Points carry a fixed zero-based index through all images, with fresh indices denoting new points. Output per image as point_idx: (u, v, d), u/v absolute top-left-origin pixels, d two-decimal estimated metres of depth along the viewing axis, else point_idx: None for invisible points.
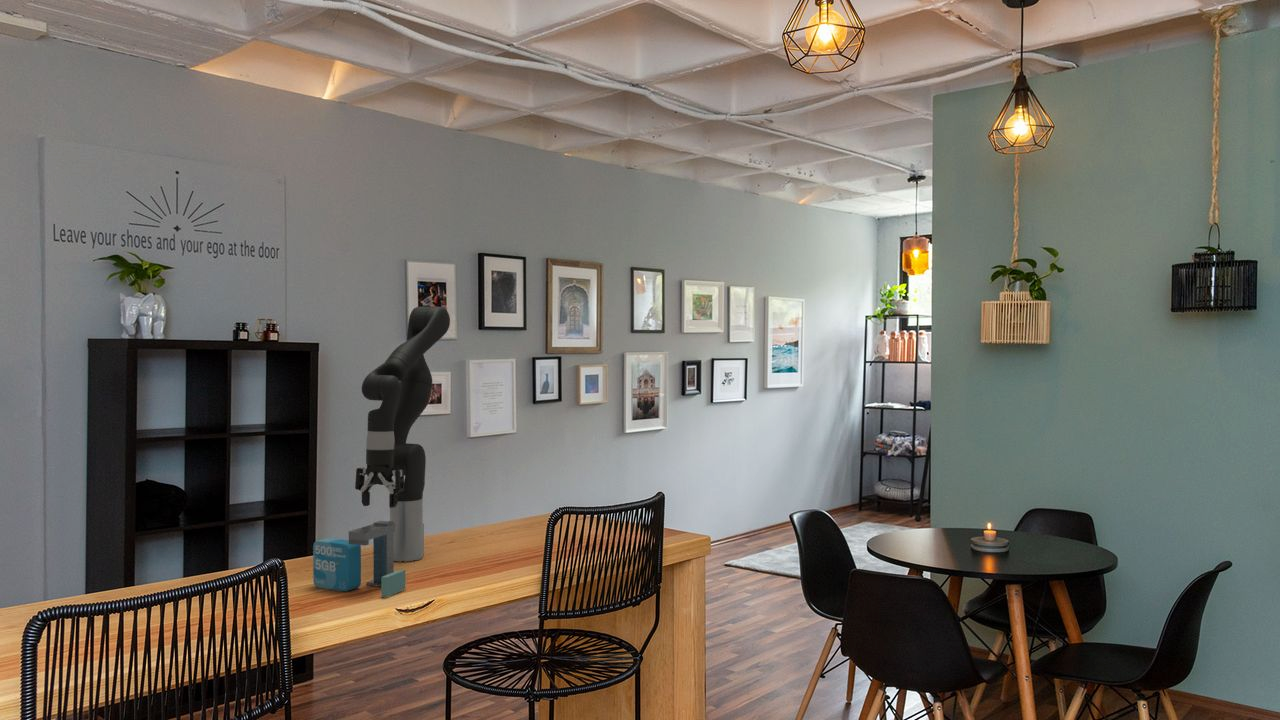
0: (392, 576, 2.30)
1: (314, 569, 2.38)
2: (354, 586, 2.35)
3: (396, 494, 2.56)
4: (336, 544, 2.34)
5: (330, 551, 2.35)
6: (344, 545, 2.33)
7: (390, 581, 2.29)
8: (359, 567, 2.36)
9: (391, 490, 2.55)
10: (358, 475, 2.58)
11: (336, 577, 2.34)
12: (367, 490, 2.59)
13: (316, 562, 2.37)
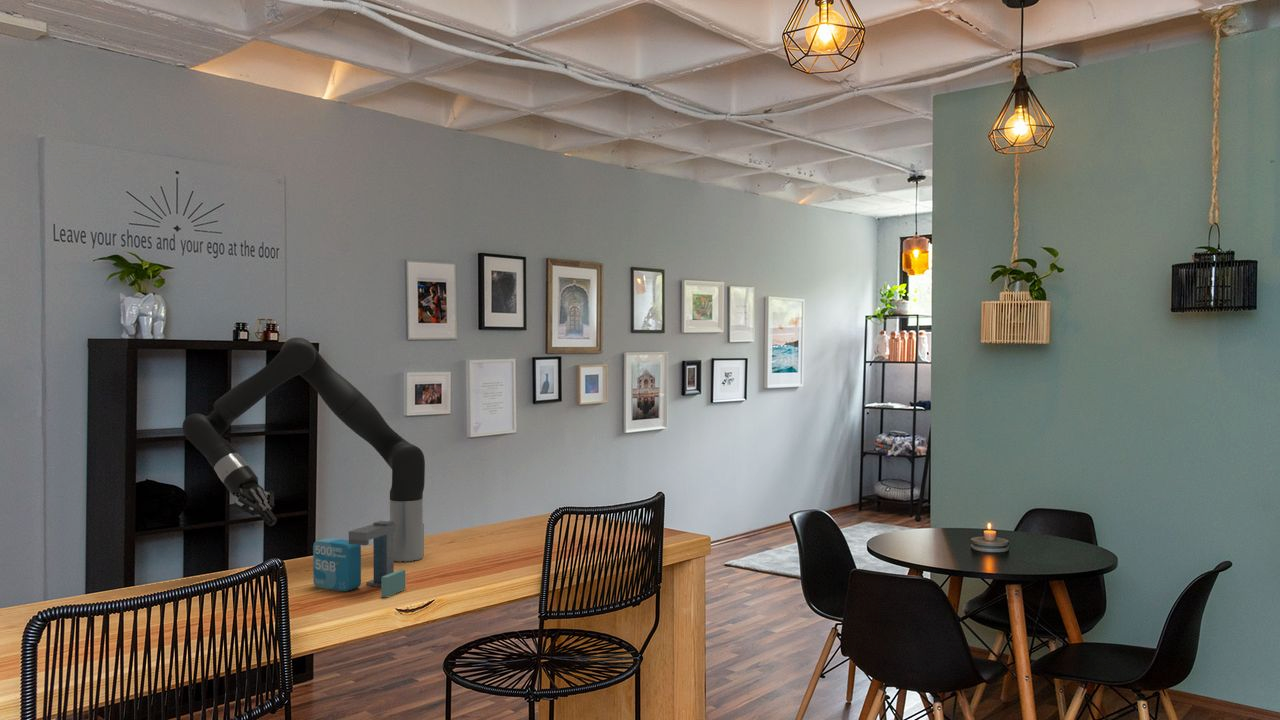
0: (392, 576, 2.30)
1: (314, 569, 2.38)
2: (354, 586, 2.35)
3: (261, 514, 2.43)
4: (336, 544, 2.34)
5: (330, 551, 2.35)
6: (344, 545, 2.33)
7: (390, 581, 2.29)
8: (359, 567, 2.36)
9: None
10: None
11: (336, 577, 2.34)
12: None
13: (316, 562, 2.37)
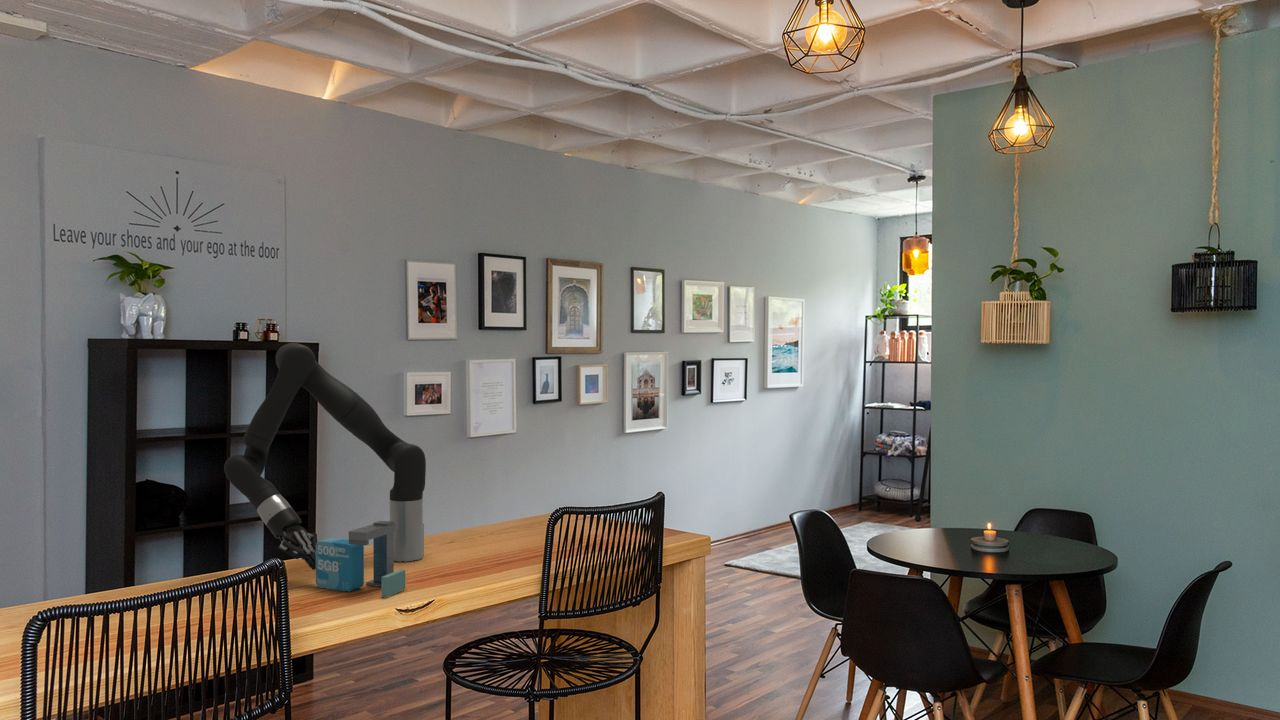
0: (392, 576, 2.30)
1: (316, 569, 2.37)
2: (357, 586, 2.34)
3: (305, 557, 2.38)
4: (339, 544, 2.34)
5: (332, 551, 2.35)
6: (347, 545, 2.33)
7: (390, 581, 2.29)
8: (362, 567, 2.36)
9: None
10: None
11: (339, 577, 2.34)
12: None
13: (318, 562, 2.37)
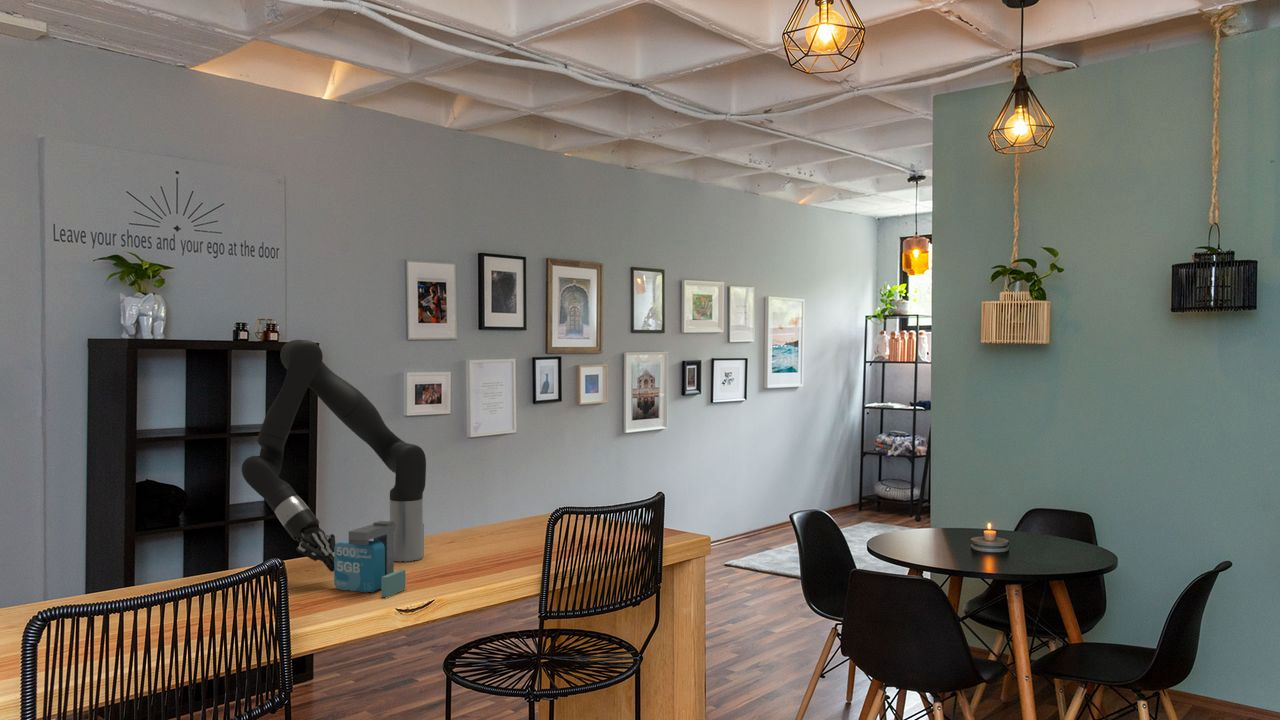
0: (392, 576, 2.30)
1: (335, 571, 2.35)
2: (379, 587, 2.34)
3: (324, 559, 2.37)
4: (360, 545, 2.33)
5: (353, 553, 2.33)
6: (369, 546, 2.32)
7: (390, 581, 2.29)
8: (383, 568, 2.35)
9: None
10: None
11: (361, 578, 2.33)
12: None
13: (338, 564, 2.35)
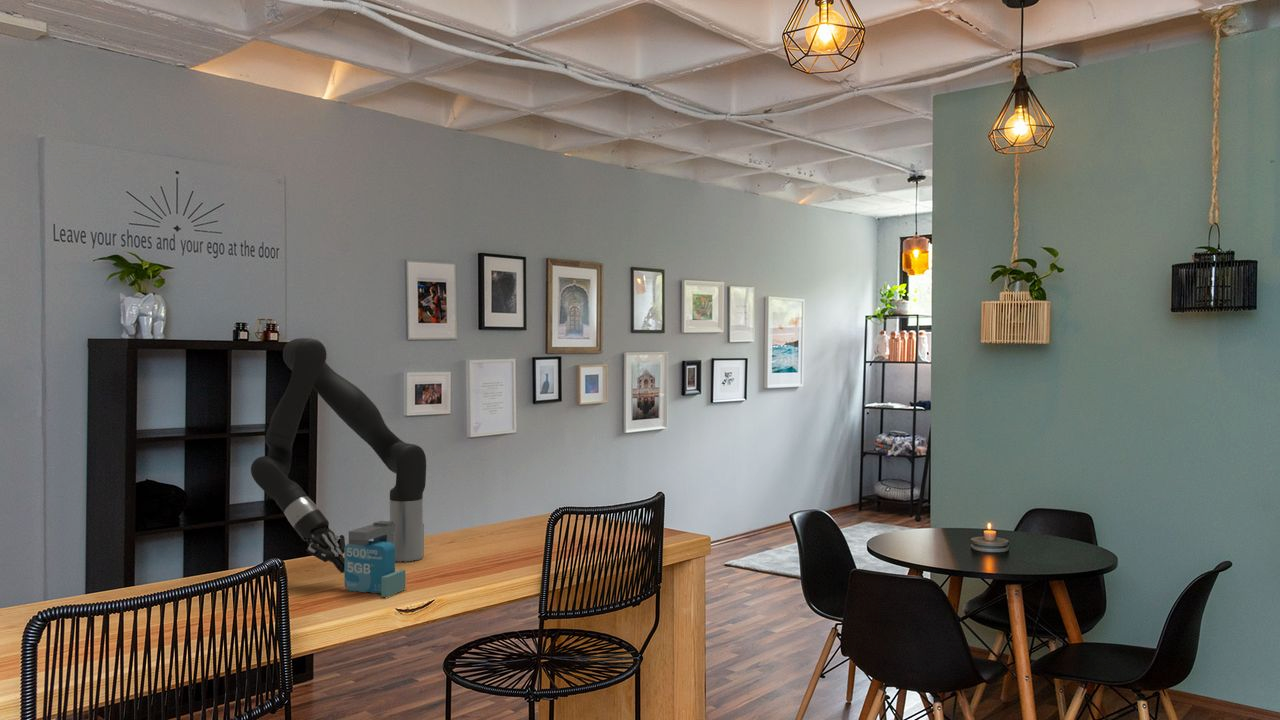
0: (392, 576, 2.30)
1: (345, 572, 2.34)
2: None
3: (334, 560, 2.36)
4: (371, 546, 2.32)
5: (364, 554, 2.32)
6: (380, 547, 2.31)
7: (390, 581, 2.29)
8: (394, 569, 2.34)
9: None
10: None
11: (371, 579, 2.32)
12: None
13: (348, 565, 2.34)
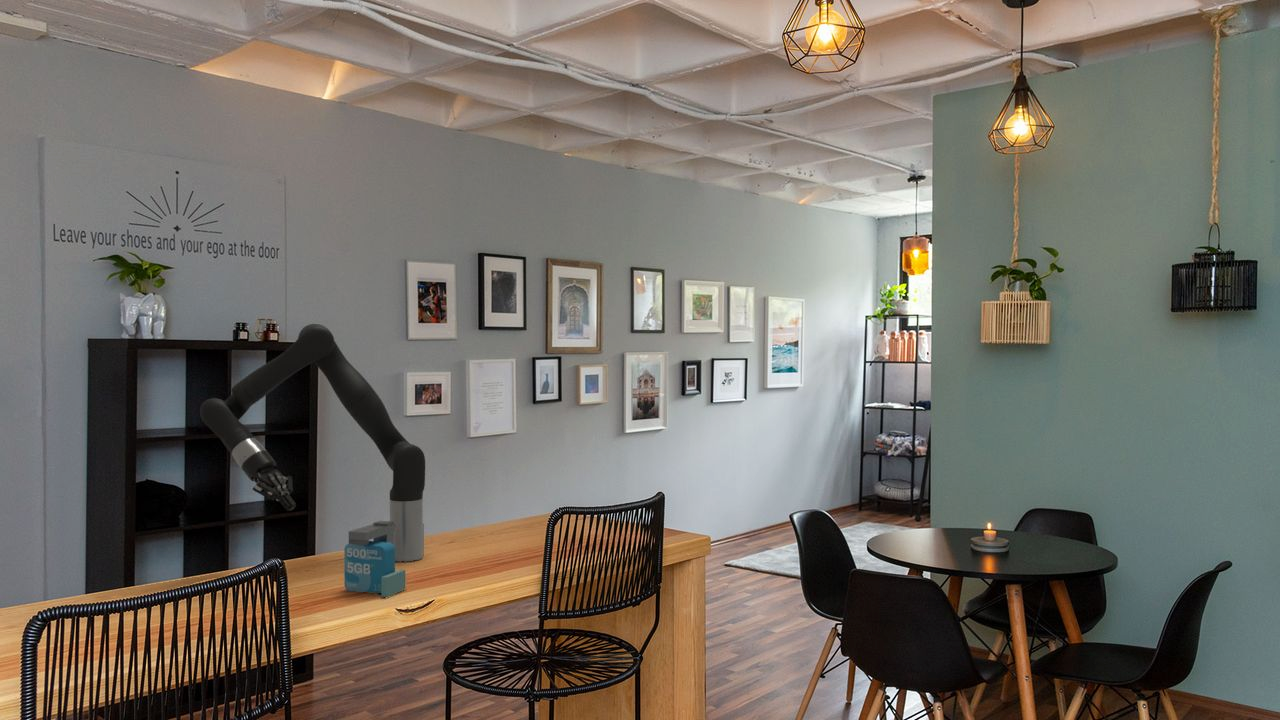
0: (392, 576, 2.30)
1: (345, 573, 2.34)
2: None
3: (280, 498, 2.41)
4: (371, 546, 2.32)
5: (364, 554, 2.32)
6: (380, 547, 2.31)
7: (390, 581, 2.29)
8: (394, 569, 2.34)
9: None
10: None
11: (371, 580, 2.32)
12: None
13: (348, 565, 2.34)
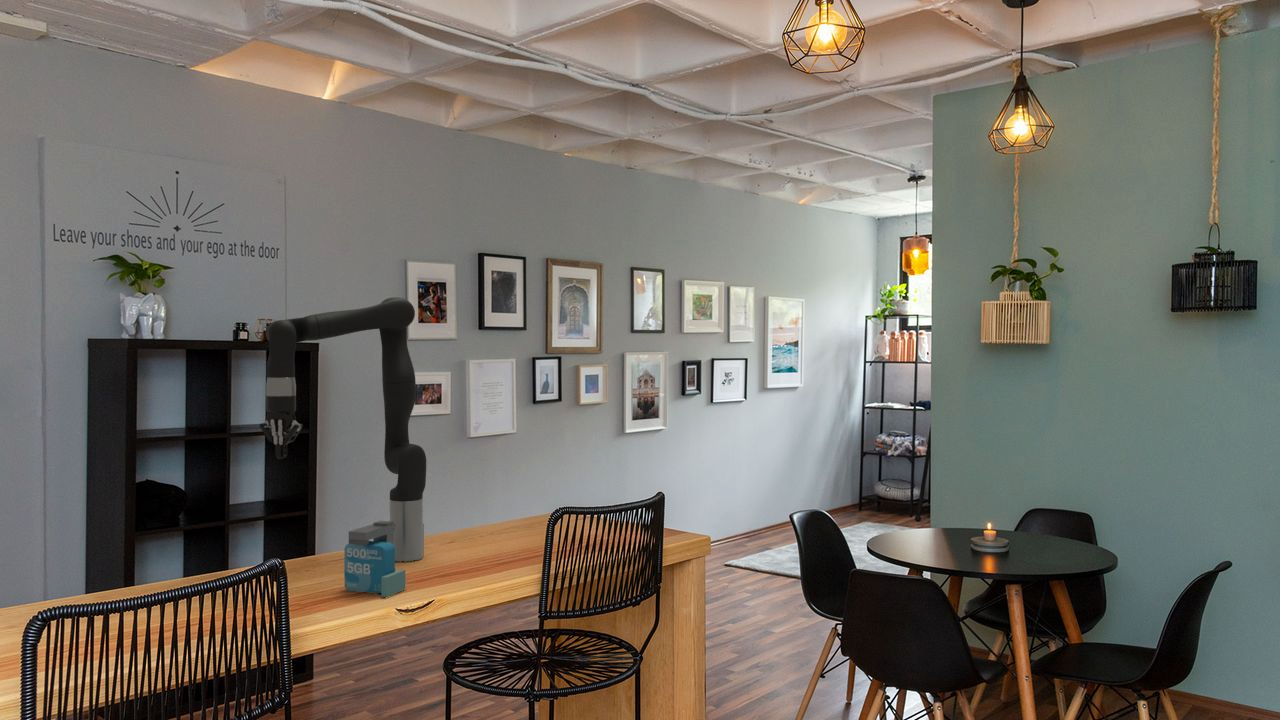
0: (392, 576, 2.30)
1: (345, 573, 2.34)
2: None
3: (286, 445, 2.52)
4: (371, 546, 2.32)
5: (364, 554, 2.32)
6: (380, 547, 2.31)
7: (390, 581, 2.29)
8: (394, 569, 2.34)
9: (281, 441, 2.51)
10: (264, 429, 2.53)
11: (371, 580, 2.32)
12: None
13: (348, 565, 2.34)
